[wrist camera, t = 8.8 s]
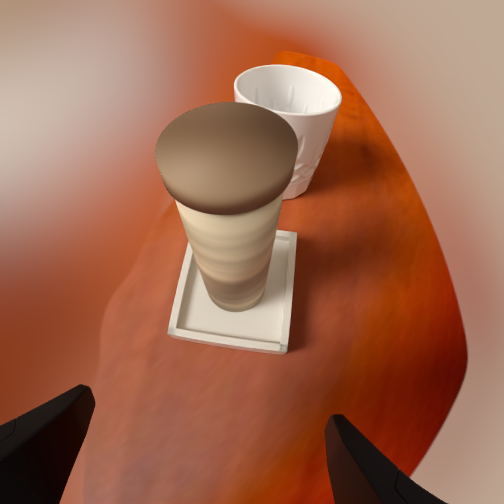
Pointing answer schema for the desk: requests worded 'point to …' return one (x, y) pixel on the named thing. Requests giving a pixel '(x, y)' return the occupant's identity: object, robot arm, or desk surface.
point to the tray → (238, 323)
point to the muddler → (229, 192)
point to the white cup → (295, 111)
